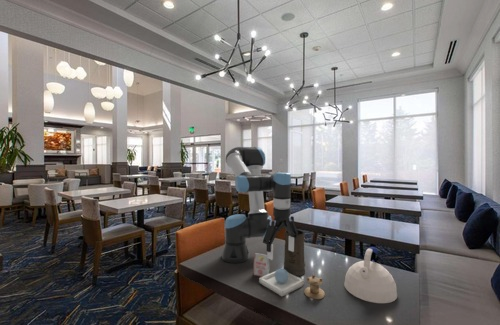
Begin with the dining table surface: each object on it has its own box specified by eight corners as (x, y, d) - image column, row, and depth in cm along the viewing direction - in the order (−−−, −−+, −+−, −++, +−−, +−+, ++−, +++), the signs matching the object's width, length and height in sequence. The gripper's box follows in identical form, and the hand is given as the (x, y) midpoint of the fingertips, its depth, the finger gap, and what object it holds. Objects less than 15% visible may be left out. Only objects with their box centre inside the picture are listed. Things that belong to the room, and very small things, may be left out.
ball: (271, 281, 109) (271, 268, 109) (281, 277, 113) (281, 264, 113) (281, 287, 104) (281, 273, 104) (291, 282, 108) (291, 269, 108)
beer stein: (305, 277, 114) (306, 234, 115) (282, 275, 116) (283, 233, 117) (304, 265, 129) (305, 227, 130) (284, 263, 131) (285, 226, 132)
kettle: (337, 291, 103) (337, 249, 102) (352, 273, 119) (353, 236, 118) (391, 311, 90) (392, 262, 89) (401, 288, 106) (402, 246, 105)
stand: (305, 298, 97) (306, 282, 97) (303, 287, 105) (303, 272, 105) (326, 299, 97) (326, 283, 96) (322, 288, 105) (322, 273, 104)
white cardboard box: (256, 271, 120) (256, 251, 120) (269, 274, 117) (269, 253, 117) (253, 274, 117) (253, 254, 117) (266, 277, 114) (266, 256, 114)
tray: (259, 282, 110) (259, 277, 110) (280, 273, 118) (280, 268, 118) (282, 296, 99) (282, 291, 99) (303, 285, 108) (303, 280, 108)
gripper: (267, 213, 97) (266, 265, 98) (306, 205, 113) (305, 250, 114) (254, 209, 103) (254, 259, 104) (293, 202, 119) (293, 245, 120)
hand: (281, 254), depth 109 cm, fingers open, 13 cm apart
